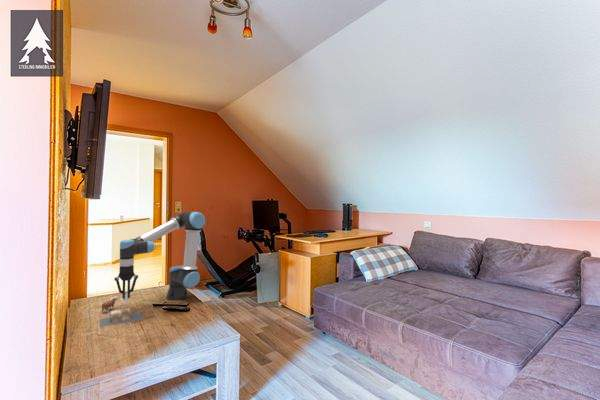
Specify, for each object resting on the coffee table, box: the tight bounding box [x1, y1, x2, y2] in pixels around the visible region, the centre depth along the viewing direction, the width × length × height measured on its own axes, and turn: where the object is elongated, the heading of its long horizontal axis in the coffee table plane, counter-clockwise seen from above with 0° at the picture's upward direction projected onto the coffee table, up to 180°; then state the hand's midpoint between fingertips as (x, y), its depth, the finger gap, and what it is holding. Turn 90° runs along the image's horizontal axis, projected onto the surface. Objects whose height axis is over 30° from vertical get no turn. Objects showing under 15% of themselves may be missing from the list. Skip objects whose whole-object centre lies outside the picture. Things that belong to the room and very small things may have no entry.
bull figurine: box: [101, 295, 120, 314], centre depth 196 cm, size 4×13×8 cm, turn 174°
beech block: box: [109, 308, 131, 322], centre depth 182 cm, size 5×5×10 cm
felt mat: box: [99, 311, 144, 328], centre depth 182 cm, size 22×13×1 cm, turn 123°
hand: (126, 303), depth 183 cm, fingers closed
